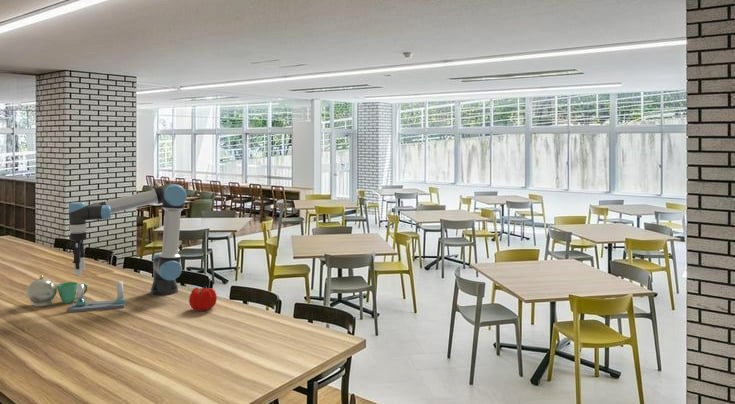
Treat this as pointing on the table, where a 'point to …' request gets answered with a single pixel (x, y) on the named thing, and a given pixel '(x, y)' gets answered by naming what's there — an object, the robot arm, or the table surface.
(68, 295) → the mug
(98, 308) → the grey and teal piece
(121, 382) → the table surface
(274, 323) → the table surface
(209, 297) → the tomato
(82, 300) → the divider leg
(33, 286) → the teapot
